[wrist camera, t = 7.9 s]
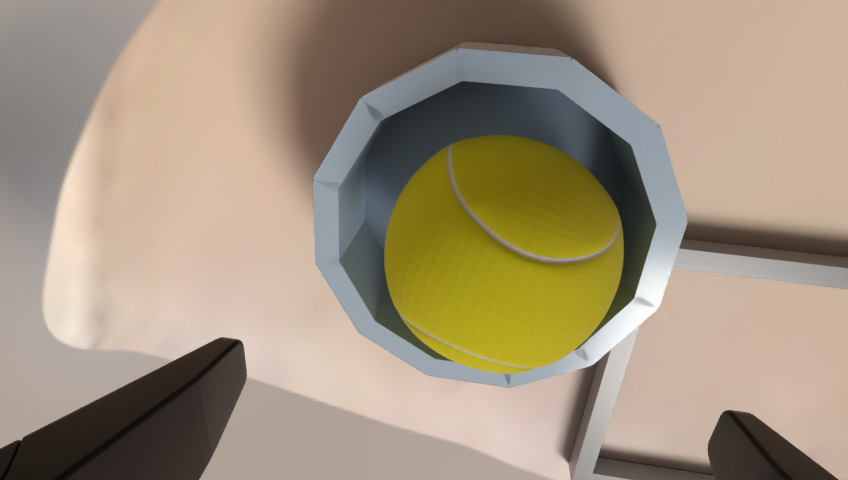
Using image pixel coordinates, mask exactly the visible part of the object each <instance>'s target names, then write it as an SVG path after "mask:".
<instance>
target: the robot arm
mask: <svg viewBox="0 0 848 480" xmlns="http://www.w3.org/2000/svg"><path fill="white" fill-rule="evenodd" d="M246 377H247V370H246V362H245V353H244V346H243V343H242V342H241V341H240V340H238V339H232V338H225V337H221V338H218V339H216V340H214V341H212V342H210V343H208V344H206V345H204V346H202V347H200V348H198V349H196V350H194V351H192V352H190V353H188V354H186V355H184V356H182V357H180V358H178V359H176V360H174V361H172V362H170V363H168V364H167V365H165V366H163V367H161V368H159V369H157V370H155V371H153V372H151V373H149V374H147V375H145V376H143V377H141V378H139V379H137V380H135V381H133V382H131V383H129V384H127V385H125V386H123V387H122V388H119V389H117V390H115V391H113V392H111V393H109V394H107V395H105V396H104V397H102V398H100V399H98V400H96V401H94V402H92V403H90V404H88V405H86V406H84V407H82V408H80V409H78V410H76V411H74V412H72V413H70V414H68V415H66V416H64V417H62V418H60V419H58V420H56V421H54V422H52V423H50V424H48V425H46V426H44V427H42V428H40V429H38V430H36V431H34V432H32V433H31V434H29V435H27V436H25V437H23V439H22V441H20V440H17V441H14V442H13V443H11V444H9V445H7V446H5V447H3V448H1V449H0V480H199V479H200V477H201V475H202V474H203V472H204V470H205V468H206V466H207V465H208V463H209V461H210V459H211V458H212V455H213V453H214V451H215V449H216V447H217V445H218V443H219V441H220V439H221V436H222V434H223V432H224V430H225V427H226V425H227V423H228V421H229V418H230V416H231V414H232V412H233V409H234V407H235V405H236V403H237V400H238V398H239V396H240V394H241V391H242V389H243V387H244V385H245V381H246ZM708 456H709V460H710V464H711V468H712V472H713V476H714V479H715V480H838V479H837V478H836V477H834V476H833V475H832V474H830V473H829V472H828V471H827V470H825V469H824V468H823V467H821V466H820V465H819V464H817V463H816V462H815V461H813V460H812V459H811V458H809V457H808V456H807V455H805V454H804V453H803V452H802V451H800V450H799V449H798V448H796V447H795V446H794V445H792V444H791V443H790V442H788V441H787V440H786V439H784V438H783V437H782V436H780V435H779V434H778V433H777V432H775V431H774V430H773V429H771V428H770V427H769V426H767V425H766V424H765V423H763V422H762V421H761V420H759V419H758V418H757V417H755V416H754V415H753V414H750V413H747V412H740V411H733V410H726V411H724V412H723V413H722V414H721V416H720V418H719V420H718V422H717V425H716V427H715V429H714V431H713V433H712V436H711V438H710V440H709V443H708Z"/></svg>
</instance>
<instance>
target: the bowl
mask: <svg viewBox="0 0 848 480" xmlns="http://www.w3.org/2000/svg"><path fill="white" fill-rule="evenodd" d="M486 135H512V136H519V137H525V138H529V139H534V140H537V141H540V142H543V143H546V144H548V145H551V146H553V147H555V148H557V149H559V150H561V151H563V152H565V153H566V154H568V155H569V156H571V157H572V158H574V159H575V160H577V161H578V162H579V163H580V164H582V165H583V166H584V167H585V168H587V169H588V170H589V171H590V172H591V173H592V174H593V175H594V177H595V178H596V179H597V180H598V181H599V182H600V184H601V185H602V186H603V187H604V188H605V190H606V191H607V192H608V194H609V195H610V197H611V198H612V200H613V201H614V203H615V205H616V207H617V210H618V213H619V215H620V218H621V223H622V228H623V240H624V259H623V268H622V274H621V278H620V283H619V286H618V289H617V292H616V294H615V297H614V299H613V301H612V303H611V306H610V308H609V310H608V311H607V313H606V315H605V317H604V318H603V320H602V321H601V322H600V324H599V325H598V327H597V328H596V329H595V330H594V331H593V333H592V334H591V335H590V336H589V337H588V338H587V339H586V340H585V341H584V342H583V343H582V344H581V345H580V346H578V347H577V348H576V349H575V350H573V351H572V352H571V353H569V354H568V355H567V356H565V357H563V358H562V359H560V360H558V361H556V362H554V363H552V364H549V365H547V366H543V367H536V368H534V369H532V370H530V371H527V372H523V373H494V372H487V371H482V370H477V369H474V368H470V367H467V366H464V365H461V364H459V363H456V362H454V361H452V360H450V359H448V358H446V357H444V356H442V355H441V354H439V353H437V352H436V351H434V350H433V349H431V348H430V347H428V346H427V345H426V344H424V343H423V342H422V341H421V340H420V339H419V338H418V337H417V336H416V335H415V334H414V333H413V332H412V331H411V330H410V329H409V328H408V327H407V325H406V324H405V323H404V321H403V320H402V318H401V316H400V315H399V312H398V311H397V310H396V308H395V306H394V304H393V301H392V299H391V296H390V293H389V289H388V285H387V280H386V274H385V264H384V249H385V239H386V233H387V228H388V224H389V221H390V217H391V214H392V212H393V209H394V207H395V204H396V202H397V200H398V198H399V196H400V194H401V193H402V191H403V189H404V188H405V186H406V185H407V183H408V182H409V180H410V179H411V178H412V176H413V175H414V174H415V173H416V172H417V171H418V170H419V168H420V167H421V166H422V165H423V164H425V163H426V162H427V161H428V160H429V159H430V158H431V157H433V156H434V155H435V154H436V153H438V152H439V151H440V150H442V149H443V148H445V147H446V146H448V145H450V144H453V143H455V142H457V141H460V140H464V139H468V138H473V137H478V136H486ZM313 202H314V231H315V259H316V263H317V264H316V265H317V267H318V268H319V270H320V272H321V273H322V275H323V276H324V278H325V280H326V281H327V283H328V284H329V286H330V288H331V289H332V291H333V293H334V294H335V296H336V297H337V299H338V301H339V302H340V304H341V305H342V307H343V309H344V310H345V312H346V313H347V315H348V317H349V318H350V320H351V322H352V323H353V325H354V326H355V328H356V330H357V331H358V332H359V333H360V334H361V335H363V336H365V337H366V338H368V339H369V340H371V341H373V342H374V343H376V344H377V345H379V346H381V347H382V348H384V349H385V350H387V351H389V352H390V353H392V354H393V355H395V356H397V357H398V358H400V359H401V360H403V361H405V362H406V363H408V364H409V365H411V366H413V367H414V368H416V369H417V370H419V371H421V372H422V373H424V374H425V375H427V374H428V376H433V377H439V378H446V379H453V380H460V381H466V382H473V383H480V384H487V385H493V386H500V387H507V388H509V387H510V388H511V387H515V386H518V385H522V384H526V383H529V382H533V381H537V380H541V379H544V378H548V377H552V376H556V375H559V374H563V373H567V372H571V371H574V370H578V369H582V368H585V367H589V366H591V364H592V365H594V364H595V363H596V362H597V361H598V360H599V359H601V358H602V357H603V356H604V355H605V354H606V353H607V352H609V351H610V350H611V349H612V348H613V347H614V346H616V345H617V344H618V343H619V342H620V341H621V340H622V339H624V338H625V337H626V336H627V335H628V334H629V333H631V332H632V331H633V330H634V329H635V328H636V327H638V326H639V325H640V324H641V323H642V322H643V321H644V320H646V319H647V318H648V317H649V316H650V315H651V314H653V313H654V312H655V311H656V310H657V309H658V307H659V306H660V303H661V300H662V297H663V294H664V291H665V289H666V286H667V283H668V280H669V277H670V274H671V271H672V268H673V265H674V262H675V259H676V256H677V253H678V250H679V247H680V244H681V241H682V238H683V235H684V232H685V229H686V226H687V223H688V221H687V220H688V218H687V215H686V212H685V208H684V205H683V202H682V198H681V195H680V192H679V188H678V185H677V181H676V178H675V175H674V171H673V168H672V165H671V161H670V158H669V155H668V151H667V148H666V144H665V141H664V138H663V134H662V131H661V128H660V126H659V124H657V123H656V122H655V121H653V120H652V119H651V118H650V117H648V116H647V115H646V114H644V113H643V112H642V111H641V110H639V109H638V108H637V107H635V106H634V105H633V104H632V103H630V102H629V101H628V100H626V99H625V98H624V97H622V96H621V95H620V94H619V93H617V92H616V91H615V90H613V89H612V88H611V87H610V86H608V85H607V84H606V83H604V82H603V81H602V80H601V79H599V78H598V77H597V76H595V75H594V74H593V73H592V72H590V71H589V70H588V69H586V68H585V67H584V66H583V65H581V64H580V63H579V62H577V61H576V60H575V59H574V58H572V57H570V56H568V55H567V54H565V53H563V52H561V51H560V50H558V49H554V48H541V47H529V46H519V45H513V44H492V43H480V42H468V41H466V42H463V43H461V44H459V45H457V46H455V47H453V48H451V49H449V50H447V51H445V52H443V53H441V54H439V55H437V56H435V57H433V58H431V59H429V60H427V61H425V62H424V63H422V64H420V65H418V66H416V67H414V68H412V69H410V70H408V71H406V72H404V73H402V74H400V75H398V76H396V77H394V78H392V79H391V80H389V81H387V82H385V83H383V84H382V85H380V86H379V87H377V88H375V89H374V90H372V91H370V92H369V93H367V94H365V95H364V96H362V97H361V98H360V99H359V101H358V103H357V105H356V106H355V108H354V110H353V111H352V113H351V115H350V116H349V118H348V120H347V122H346V123H345V125H344V127H343V128H342V130H341V132H340V133H339V135H338V137H337V139H336V140H335V142H334V144H333V145H332V147H331V149H330V150H329V152H328V154H327V156H326V157H325V159H324V161H323V162H322V164H321V166H320V167H319V169H318V171H317V172H316V174H315V176H314V178H313Z"/></svg>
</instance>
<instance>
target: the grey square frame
mask: <svg viewBox="0 0 848 480" xmlns="http://www.w3.org/2000/svg"><path fill="white" fill-rule="evenodd" d="M673 268H675V269H683V270H692V271H700V272H708V273H716V274H725V275H733V276H741V277H749V278H758V279H766V280H774V281H782V282H791V283H799V284H807V285H816V286H824V287H832V288H840V289H848V257H840V256H831V255H823V254H814V253H805V252H797V251H788V250H779V249H771V248H762V247H753V246H745V245H736V244H727V243H719V242H710V241H701V240H692V239H684V238H682V241H681V244H680V247H679V250H678V253H677V256H676V259H675V262H674V265H673ZM640 325H641V324H640ZM640 325H639V326H638V327H636V328H635V329H634V330H633V331H632V332H631V333H629V334H628V335H627V336H626V337H625V338H624V339H622V340H621V341H620V342H619V343H618V344H617V345H616V346H614V347H613V348H612V349H611V350H610V351H609V352H607V353H606V354H605V355H604V356H603V357H602V358H601V359H599V361H598V364H597V368H596V371H595V375H594V378H593V382H592V385H591V388H590V392H589V395H588V399H587V402H586V406H585V409H584V413H583V416H582V420H581V423H580V427H579V430H578V434H577V437H576V441H575V444H574V448H573V451H572V455H571V458H570V462H569V470H570V476H571V480H715V479H714V476H713V475H707V474H701V473H695V472H688V471H682V470H676V469H670V468H663V467H657V466H651V465H644V464H638V463H632V462H625V461H619V460H613V459H607V458H600V457H598V455H599V452H600V449H601V446H602V443H603V439H604V436H605V433H606V430H607V427H608V424H609V421H610V418H611V415H612V411H613V408H614V405H615V402H616V399H617V396H618V393H619V390H620V387H621V384H622V380H623V377H624V374H625V371H626V368H627V365H628V362H629V359H630V356H631V353H632V349H633V346H634V343H635V340H636V337H637V334H638V331H639V328H640Z"/></svg>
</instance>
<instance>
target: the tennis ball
mask: <svg viewBox="0 0 848 480" xmlns="http://www.w3.org/2000/svg"><path fill="white" fill-rule="evenodd" d="M623 259H624V240H623V228H622V223H621V218H620V215H619V213H618V210H617V207H616V205H615V203H614V201H613V200H612V198H611V197H610V195H609V194H608V192H607V191H606V190H605V188H604V187H603V186H602V185H601V184H600V182H599V181H598V180H597V179H596V178H595V177H594V175H593V174H592V173H591V172H590V171H589V170H588V169H587V168H585V167H584V166H583V165H582V164H580V163H579V162H578V161H577V160H575V159H574V158H572V157H571V156H569V155H568V154H566V153H565V152H563V151H561V150H559V149H557V148H555V147H553V146H551V145H548V144H546V143H543V142H540V141H537V140H534V139H529V138H525V137H519V136H512V135H486V136H478V137H473V138H468V139H464V140H460V141H457V142H455V143H453V144H450V145H448V146H446V147H445V148H443V149H442V150H440V151H439V152H438V153H436V154H435V155H434V156H433V157H431V158H430V159H429V160H428V161H427V162H426V163H425V164H423V165H422V166H421V167H420V168H419V170H418V171H417V172H416V173H415V174H414V175H413V176H412V178H411V179H410V180H409V182H408V183H407V185H406V186H405V188H404V189H403V191H402V193H401V194H400V196H399V198H398V200H397V202H396V204H395V207H394V209H393V212H392V214H391V217H390V221H389V224H388V228H387V233H386V239H385V249H384V264H385V274H386V280H387V285H388V289H389V293H390V296H391V299H392V301H393V304H394V306H395V308H396V310H397V311H398V312H399V315H400V316H401V318H402V320H403V321H404V323H405V324H406V325H407V327H408V328H409V329H410V330H411V331H412V332H413V333H414V334H415V335H416V336H417V337H418V338H419V339H420V340H421V341H422V342H423V343H424V344H426V345H427V346H428V347H430V348H431V349H433V350H434V351H436V352H437V353H439V354H441V355H442V356H444V357H446V358H448V359H450V360H452V361H454V362H456V363H459V364H461V365H464V366H467V367H470V368H474V369H477V370H482V371H487V372H494V373H523V372H527V371H530V370H532V369H534V368H536V367H543V366H547V365H549V364H552V363H554V362H556V361H558V360H560V359H562V358H563V357H565V356H567V355H568V354H569V353H571V352H572V351H573V350H575V349H576V348H577V347H578V346H580V345H581V344H582V343H583V342H584V341H585V340H586V339H587V338H588V337H589V336H590V335H591V334H592V333H593V331H594V330H595V329H596V328H597V327H598V325H599V324H600V322H601V321H602V320H603V318H604V317H605V315H606V313H607V311H608V310H609V308H610V306H611V303H612V301H613V299H614V297H615V294H616V292H617V289H618V286H619V283H620V278H621V274H622V268H623Z"/></svg>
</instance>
